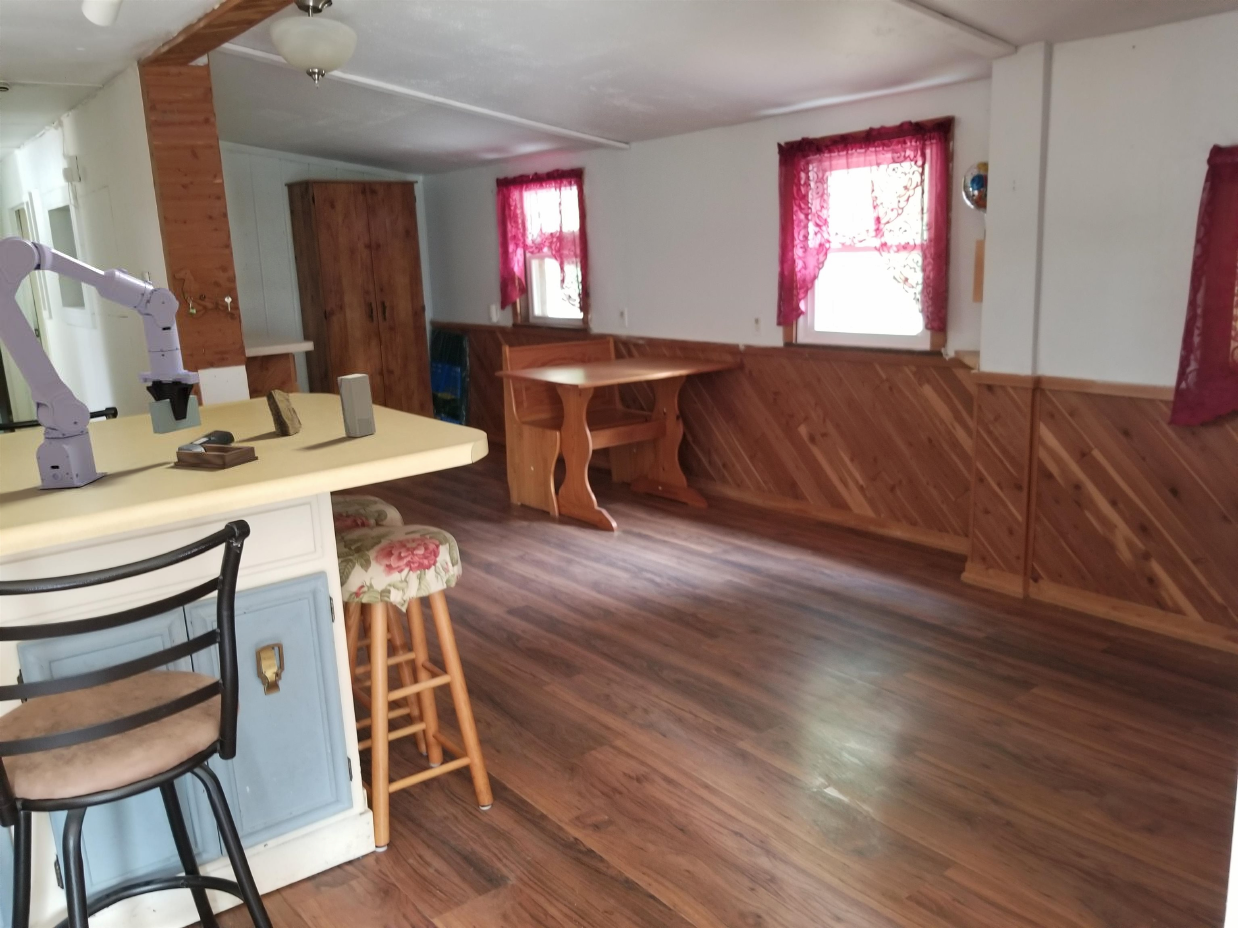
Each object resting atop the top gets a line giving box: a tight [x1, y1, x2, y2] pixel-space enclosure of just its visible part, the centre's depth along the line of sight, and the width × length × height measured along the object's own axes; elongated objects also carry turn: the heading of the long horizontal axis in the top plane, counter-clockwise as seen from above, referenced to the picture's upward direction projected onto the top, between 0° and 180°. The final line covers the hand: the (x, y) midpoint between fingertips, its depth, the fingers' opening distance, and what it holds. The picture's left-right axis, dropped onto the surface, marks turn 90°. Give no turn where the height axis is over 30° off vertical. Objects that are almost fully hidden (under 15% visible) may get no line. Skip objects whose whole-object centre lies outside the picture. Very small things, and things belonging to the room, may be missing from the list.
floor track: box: [173, 443, 259, 470], centre depth 186 cm, size 14×8×3 cm, turn 63°
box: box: [337, 373, 377, 438], centre depth 204 cm, size 5×4×13 cm
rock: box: [265, 389, 303, 437], centre depth 215 cm, size 11×9×10 cm
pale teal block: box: [148, 395, 202, 435], centre depth 188 cm, size 9×3×6 cm, turn 154°
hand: (175, 419), depth 188 cm, fingers closed on pale teal block, 3 cm apart
